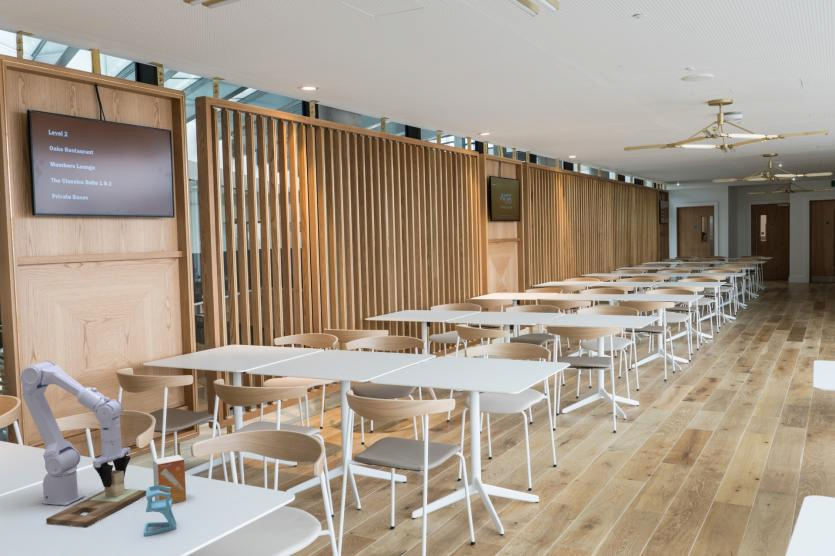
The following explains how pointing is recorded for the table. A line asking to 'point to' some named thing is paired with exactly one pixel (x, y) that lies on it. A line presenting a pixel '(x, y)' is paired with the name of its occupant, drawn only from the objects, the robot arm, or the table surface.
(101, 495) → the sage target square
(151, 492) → the chair
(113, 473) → the maple block
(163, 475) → the small box
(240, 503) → the table surface
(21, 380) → the robot arm
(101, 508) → the walnut pocket board
